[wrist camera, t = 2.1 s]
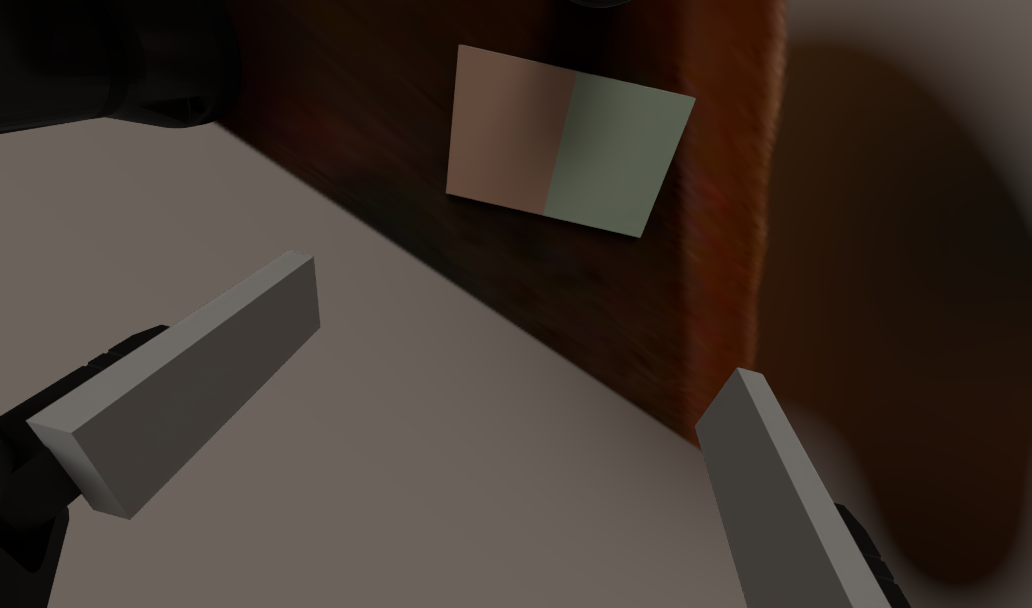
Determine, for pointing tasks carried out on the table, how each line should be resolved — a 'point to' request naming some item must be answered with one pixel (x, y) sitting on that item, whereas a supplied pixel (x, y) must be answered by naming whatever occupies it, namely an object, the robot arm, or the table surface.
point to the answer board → (560, 140)
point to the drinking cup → (599, 3)
